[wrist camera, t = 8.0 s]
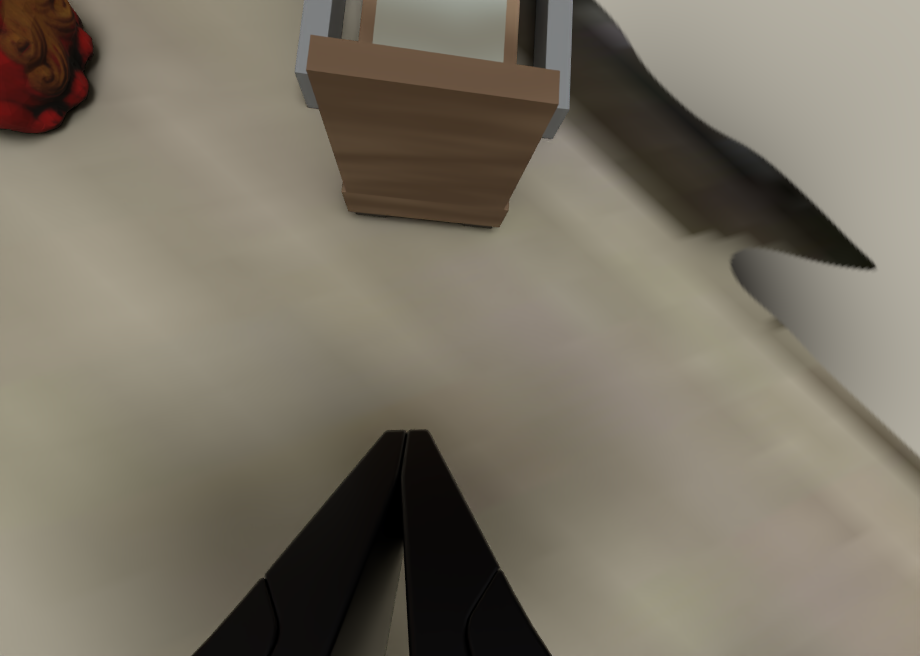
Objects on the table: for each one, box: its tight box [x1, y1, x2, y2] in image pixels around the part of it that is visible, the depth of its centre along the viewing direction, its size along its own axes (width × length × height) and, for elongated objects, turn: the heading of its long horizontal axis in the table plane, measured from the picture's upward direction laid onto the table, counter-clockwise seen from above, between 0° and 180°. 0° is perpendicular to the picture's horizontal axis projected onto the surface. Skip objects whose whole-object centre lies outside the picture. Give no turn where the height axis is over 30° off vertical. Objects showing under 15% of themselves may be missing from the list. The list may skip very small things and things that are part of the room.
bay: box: [295, 0, 573, 139], centre depth 21 cm, size 10×12×2 cm
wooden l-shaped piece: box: [306, 0, 560, 228], centre depth 17 cm, size 14×7×10 cm, turn 176°
